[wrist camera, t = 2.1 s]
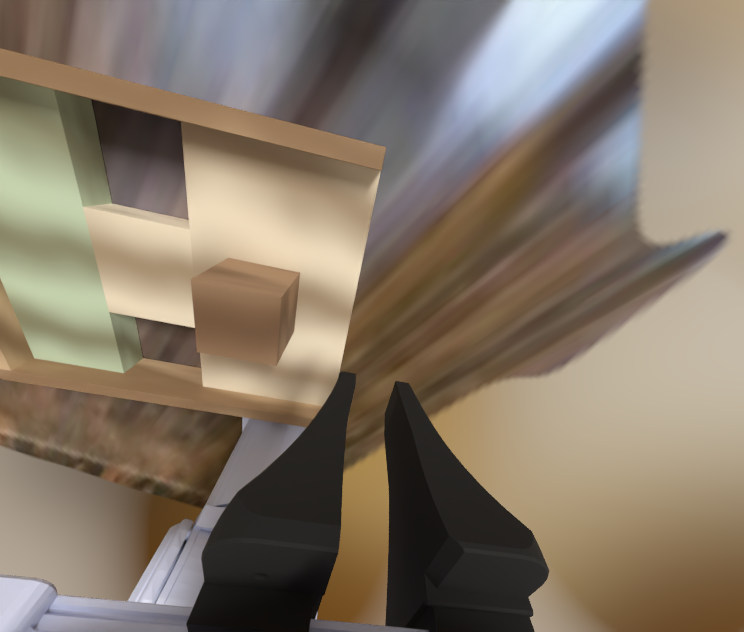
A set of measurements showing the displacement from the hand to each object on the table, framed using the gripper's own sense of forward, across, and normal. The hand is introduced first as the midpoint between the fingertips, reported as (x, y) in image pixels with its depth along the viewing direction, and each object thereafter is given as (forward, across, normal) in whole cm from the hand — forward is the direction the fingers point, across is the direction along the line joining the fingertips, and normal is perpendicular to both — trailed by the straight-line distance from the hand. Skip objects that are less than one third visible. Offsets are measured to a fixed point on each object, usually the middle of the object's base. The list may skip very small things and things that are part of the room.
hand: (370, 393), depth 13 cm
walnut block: (+7, +8, 0) cm, 11 cm away
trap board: (+9, +14, 0) cm, 16 cm away
